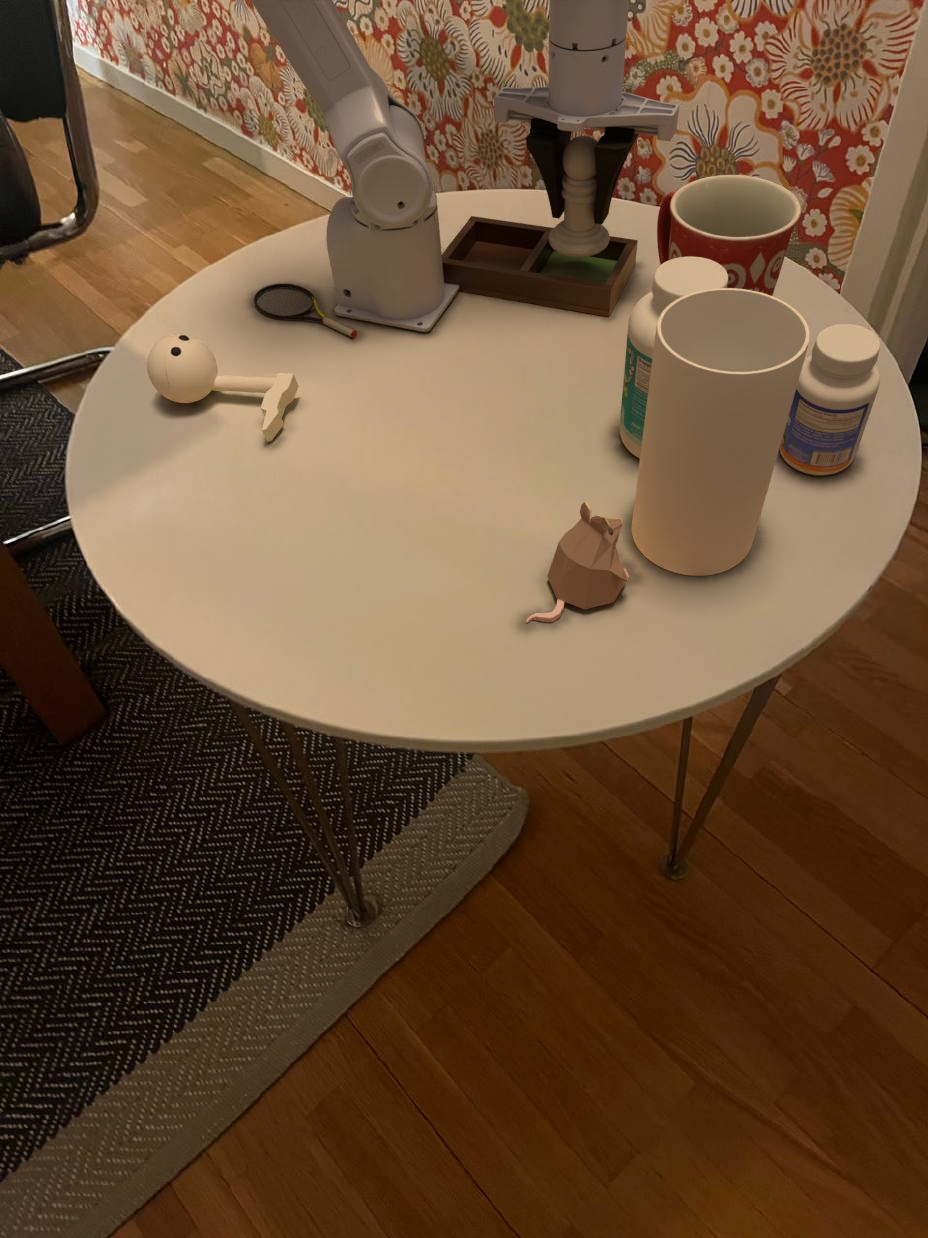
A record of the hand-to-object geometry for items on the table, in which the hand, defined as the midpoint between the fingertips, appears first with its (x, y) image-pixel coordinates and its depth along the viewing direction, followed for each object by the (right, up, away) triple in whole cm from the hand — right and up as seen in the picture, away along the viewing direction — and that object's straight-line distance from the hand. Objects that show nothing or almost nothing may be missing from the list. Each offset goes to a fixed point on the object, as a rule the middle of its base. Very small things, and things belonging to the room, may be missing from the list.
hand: (579, 215), depth 76 cm
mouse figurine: (-3, -33, -18) cm, 38 cm away
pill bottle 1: (+6, -21, -9) cm, 24 cm away
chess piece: (0, -2, +2) cm, 3 cm away
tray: (-3, -3, +6) cm, 7 cm away
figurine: (-36, -15, -4) cm, 39 cm away
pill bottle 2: (+16, -23, -11) cm, 30 cm away
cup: (+6, -29, -15) cm, 33 cm away
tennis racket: (-26, -8, +3) cm, 28 cm away
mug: (+9, -13, -3) cm, 16 cm away
